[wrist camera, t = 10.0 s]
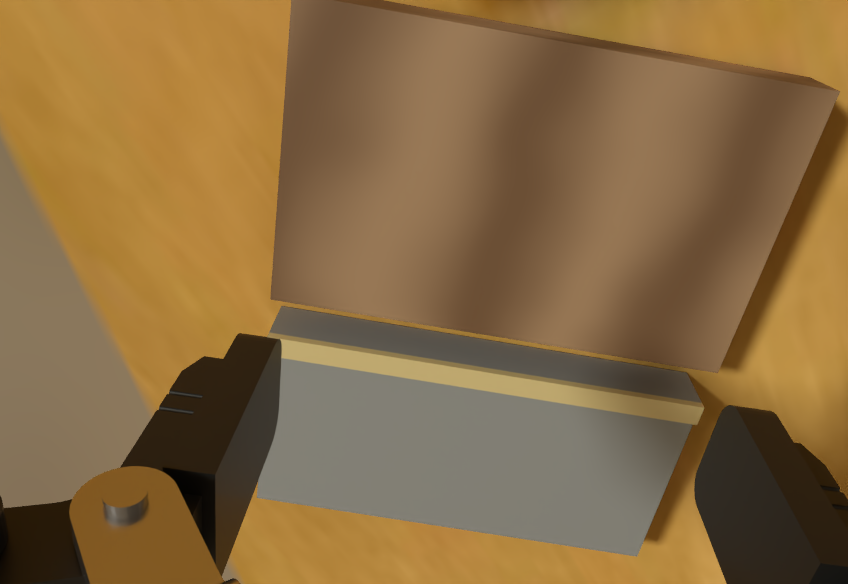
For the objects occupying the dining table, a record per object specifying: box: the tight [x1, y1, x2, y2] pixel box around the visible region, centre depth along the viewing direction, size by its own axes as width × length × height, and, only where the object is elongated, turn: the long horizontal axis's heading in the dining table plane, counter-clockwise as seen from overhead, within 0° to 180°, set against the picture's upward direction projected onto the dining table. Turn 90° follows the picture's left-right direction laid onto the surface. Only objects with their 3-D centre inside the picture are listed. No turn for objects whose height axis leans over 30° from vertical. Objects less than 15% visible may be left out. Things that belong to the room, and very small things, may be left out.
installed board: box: [257, 306, 704, 556], centre depth 29 cm, size 16×8×2 cm, turn 81°
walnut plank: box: [271, 0, 840, 373], centre depth 24 cm, size 16×10×2 cm, turn 81°
